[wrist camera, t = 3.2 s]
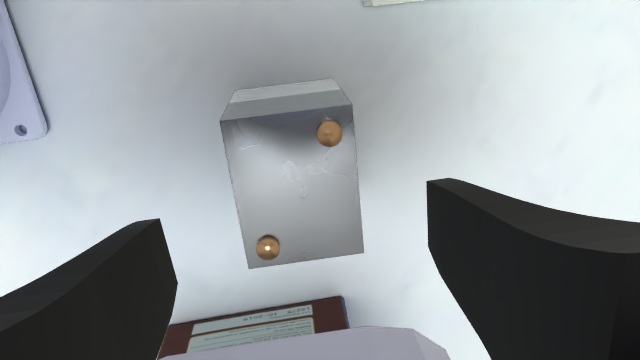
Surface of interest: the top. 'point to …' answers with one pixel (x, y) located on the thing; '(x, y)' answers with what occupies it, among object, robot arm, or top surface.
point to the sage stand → (385, 2)
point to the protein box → (256, 327)
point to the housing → (294, 172)
